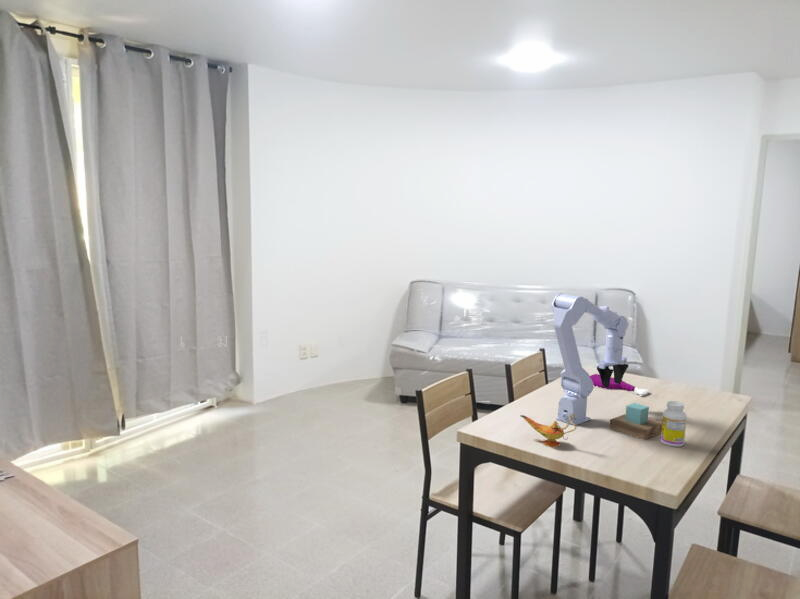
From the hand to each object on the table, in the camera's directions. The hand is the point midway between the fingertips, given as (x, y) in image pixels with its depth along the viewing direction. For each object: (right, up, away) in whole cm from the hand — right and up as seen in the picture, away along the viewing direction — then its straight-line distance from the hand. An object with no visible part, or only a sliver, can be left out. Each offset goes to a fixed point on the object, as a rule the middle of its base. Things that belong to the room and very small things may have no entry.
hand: (611, 384), depth 203 cm
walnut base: (+2, -12, -17) cm, 21 cm away
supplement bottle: (+9, -14, -28) cm, 32 cm away
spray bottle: (+13, -6, +28) cm, 32 cm away
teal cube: (+2, -9, -17) cm, 20 cm away
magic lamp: (-31, -14, -28) cm, 44 cm away
